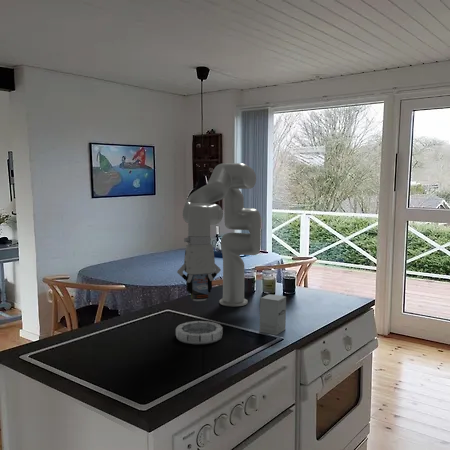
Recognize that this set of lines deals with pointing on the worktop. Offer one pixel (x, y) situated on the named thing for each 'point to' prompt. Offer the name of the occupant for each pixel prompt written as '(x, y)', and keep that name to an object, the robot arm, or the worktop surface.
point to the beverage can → (199, 287)
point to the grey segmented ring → (199, 332)
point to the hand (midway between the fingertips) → (199, 291)
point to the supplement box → (272, 314)
